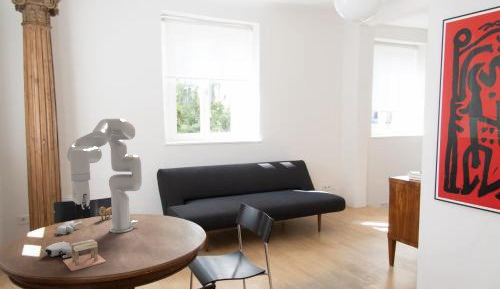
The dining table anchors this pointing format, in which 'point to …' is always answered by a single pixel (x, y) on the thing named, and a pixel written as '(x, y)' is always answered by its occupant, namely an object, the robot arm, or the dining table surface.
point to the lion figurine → (105, 212)
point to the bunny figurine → (67, 227)
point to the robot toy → (59, 249)
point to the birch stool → (82, 246)
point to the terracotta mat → (83, 262)
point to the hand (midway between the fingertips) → (82, 215)
